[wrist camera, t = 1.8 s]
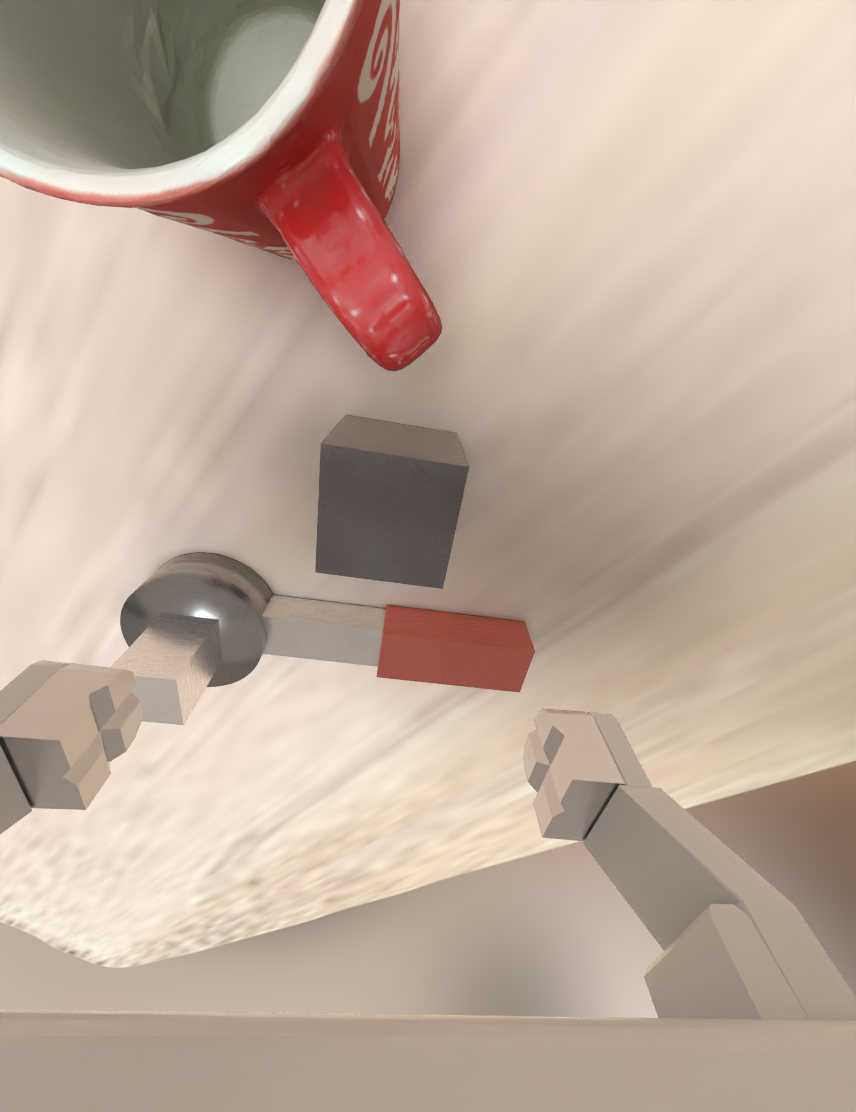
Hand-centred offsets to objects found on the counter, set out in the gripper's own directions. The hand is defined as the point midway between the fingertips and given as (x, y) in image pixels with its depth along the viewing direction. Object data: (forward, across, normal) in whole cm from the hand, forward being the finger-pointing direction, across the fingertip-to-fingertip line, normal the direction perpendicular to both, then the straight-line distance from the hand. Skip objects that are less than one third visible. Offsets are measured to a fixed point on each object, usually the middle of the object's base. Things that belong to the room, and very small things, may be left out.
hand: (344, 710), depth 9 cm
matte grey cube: (+15, 0, 0) cm, 16 cm away
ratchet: (+16, +2, +10) cm, 19 cm away
